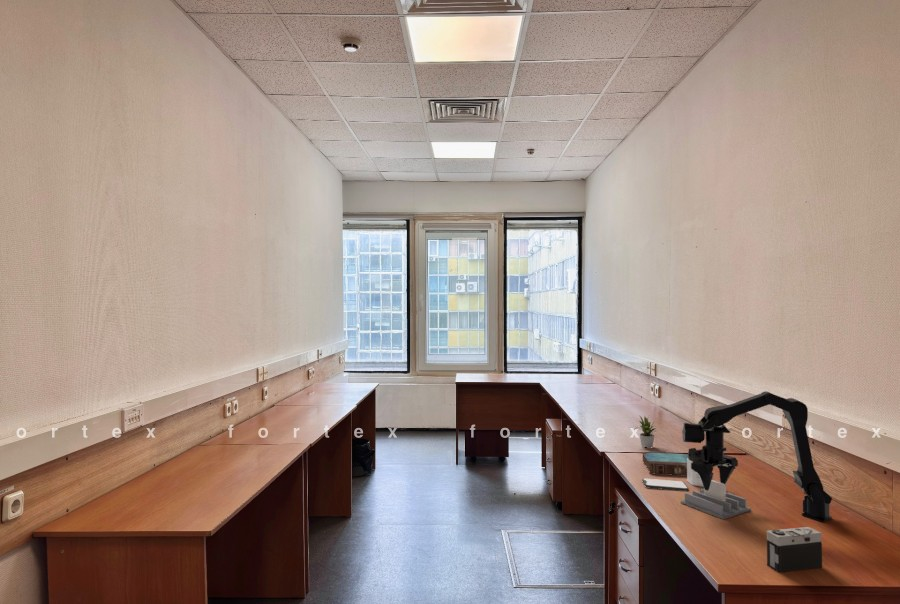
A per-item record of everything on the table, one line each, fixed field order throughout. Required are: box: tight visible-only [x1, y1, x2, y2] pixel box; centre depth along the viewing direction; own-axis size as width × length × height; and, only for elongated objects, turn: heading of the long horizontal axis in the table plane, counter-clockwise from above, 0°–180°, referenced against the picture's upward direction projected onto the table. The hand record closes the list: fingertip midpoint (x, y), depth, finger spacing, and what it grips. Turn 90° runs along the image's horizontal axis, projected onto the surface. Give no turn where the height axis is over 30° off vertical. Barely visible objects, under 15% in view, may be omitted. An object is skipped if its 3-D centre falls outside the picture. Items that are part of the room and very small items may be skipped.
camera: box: [766, 526, 823, 573], centre depth 139 cm, size 14×8×10 cm, turn 100°
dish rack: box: [680, 488, 752, 520], centre depth 179 cm, size 16×16×4 cm
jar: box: [686, 455, 706, 488], centre depth 203 cm, size 9×8×12 cm
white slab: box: [703, 479, 727, 502], centre depth 179 cm, size 7×2×8 cm, turn 29°
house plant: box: [631, 415, 659, 449], centre depth 257 cm, size 14×14×16 cm
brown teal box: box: [641, 451, 688, 477], centre depth 221 cm, size 23×18×5 cm
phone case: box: [641, 477, 689, 491], centre depth 200 cm, size 9×2×16 cm
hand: (714, 487), depth 179 cm, fingers open, 9 cm apart
